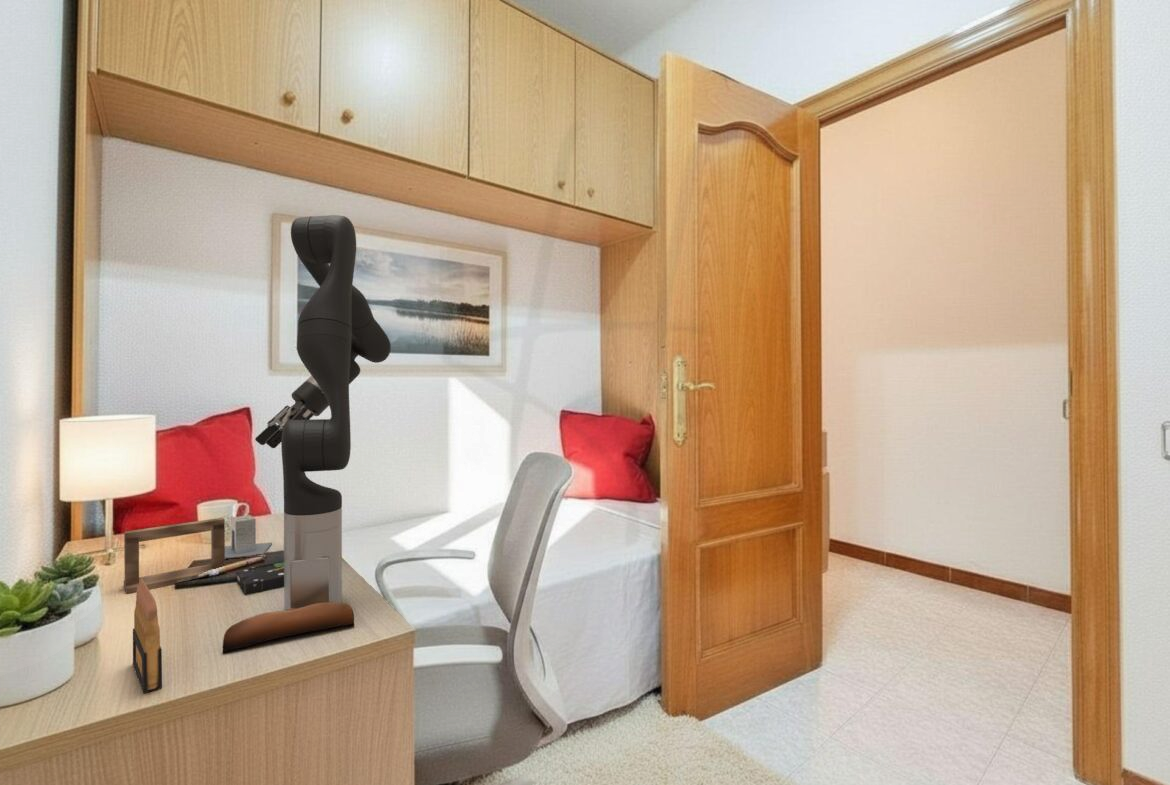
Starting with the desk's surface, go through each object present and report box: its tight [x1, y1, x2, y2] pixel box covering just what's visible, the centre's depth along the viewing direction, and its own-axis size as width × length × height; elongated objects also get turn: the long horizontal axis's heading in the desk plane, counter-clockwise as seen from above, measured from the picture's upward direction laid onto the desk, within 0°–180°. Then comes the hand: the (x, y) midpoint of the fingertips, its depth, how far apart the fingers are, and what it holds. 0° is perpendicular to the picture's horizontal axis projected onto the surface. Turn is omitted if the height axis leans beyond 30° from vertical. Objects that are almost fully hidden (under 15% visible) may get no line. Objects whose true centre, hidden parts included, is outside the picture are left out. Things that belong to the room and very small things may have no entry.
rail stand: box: [123, 517, 226, 595], centre depth 108 cm, size 16×6×11 cm, turn 135°
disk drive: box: [235, 560, 284, 596], centre depth 109 cm, size 10×3×15 cm
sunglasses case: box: [221, 602, 355, 653], centre depth 85 cm, size 18×7×7 cm
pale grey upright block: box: [230, 514, 257, 554], centre depth 126 cm, size 4×5×8 cm
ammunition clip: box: [132, 579, 163, 694], centre depth 72 cm, size 11×2×12 cm, turn 46°
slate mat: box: [225, 542, 273, 559], centre depth 126 cm, size 10×10×1 cm
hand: (263, 444), depth 116 cm, fingers open, 8 cm apart
